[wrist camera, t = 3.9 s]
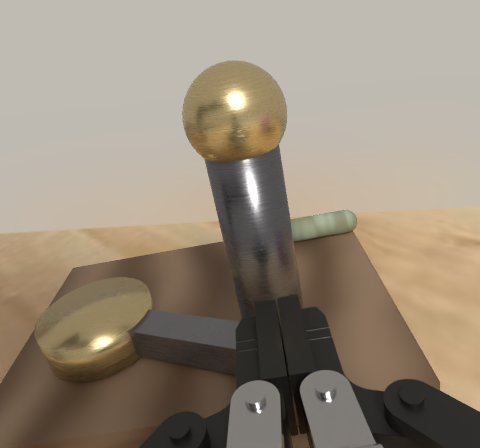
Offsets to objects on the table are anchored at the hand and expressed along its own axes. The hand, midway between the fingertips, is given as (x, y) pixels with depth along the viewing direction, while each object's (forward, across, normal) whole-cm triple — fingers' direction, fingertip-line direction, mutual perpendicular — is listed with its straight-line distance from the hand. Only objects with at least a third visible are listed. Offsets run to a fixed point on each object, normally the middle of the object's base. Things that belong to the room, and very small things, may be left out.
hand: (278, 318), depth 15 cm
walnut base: (+12, +5, +9) cm, 16 cm away
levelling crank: (+8, +6, +7) cm, 12 cm away
